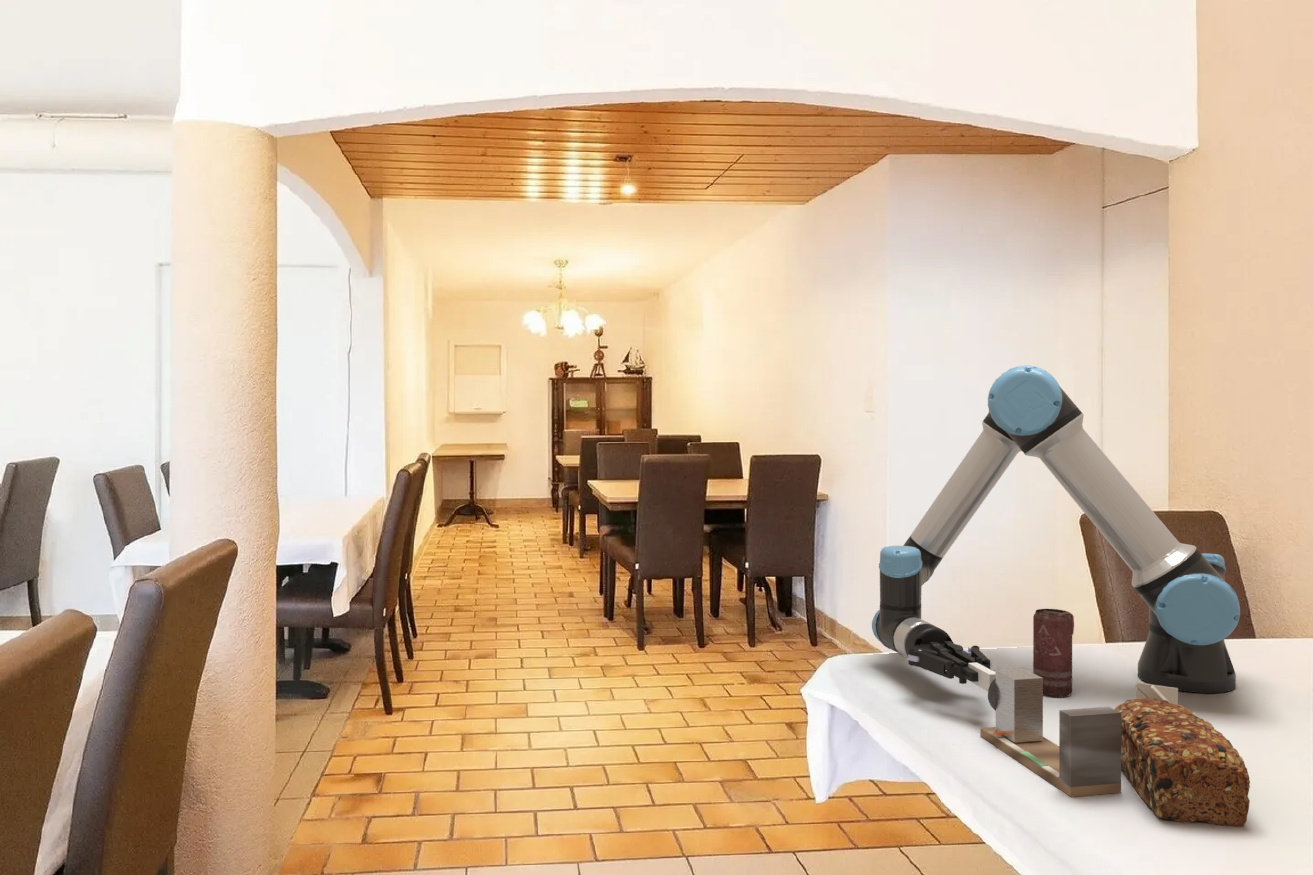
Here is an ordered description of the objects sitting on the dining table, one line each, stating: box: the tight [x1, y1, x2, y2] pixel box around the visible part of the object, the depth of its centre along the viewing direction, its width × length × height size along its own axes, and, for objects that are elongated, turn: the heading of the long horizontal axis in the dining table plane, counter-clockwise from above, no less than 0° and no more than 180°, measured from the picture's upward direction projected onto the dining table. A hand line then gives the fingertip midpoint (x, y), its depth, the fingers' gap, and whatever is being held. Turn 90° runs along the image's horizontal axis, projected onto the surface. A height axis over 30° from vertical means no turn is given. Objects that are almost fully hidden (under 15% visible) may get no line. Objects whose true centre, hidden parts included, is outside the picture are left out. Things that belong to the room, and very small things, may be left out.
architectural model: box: [1135, 682, 1179, 705], centre depth 137 cm, size 3×7×7 cm, turn 55°
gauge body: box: [979, 706, 1122, 798], centre depth 126 cm, size 22×7×10 cm, turn 10°
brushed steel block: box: [987, 667, 1044, 743], centre depth 133 cm, size 6×7×9 cm
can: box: [1032, 608, 1075, 698], centre depth 157 cm, size 6×6×14 cm
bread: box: [1114, 698, 1251, 827], centre depth 116 cm, size 19×11×10 cm, turn 168°
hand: (994, 683), depth 138 cm, fingers closed
